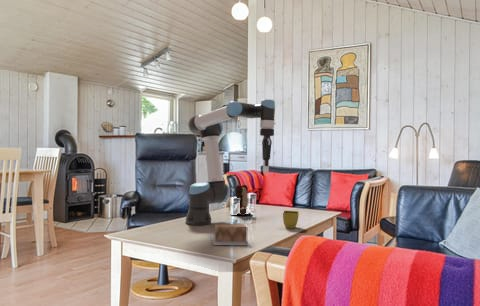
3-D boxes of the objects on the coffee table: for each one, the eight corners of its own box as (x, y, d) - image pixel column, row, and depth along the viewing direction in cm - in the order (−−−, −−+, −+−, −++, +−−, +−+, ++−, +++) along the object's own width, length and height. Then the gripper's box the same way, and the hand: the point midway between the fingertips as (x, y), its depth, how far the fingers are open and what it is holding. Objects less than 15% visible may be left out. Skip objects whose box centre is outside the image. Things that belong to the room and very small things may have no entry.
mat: (213, 246, 174) (213, 244, 174) (210, 236, 191) (210, 235, 191) (246, 245, 176) (246, 244, 176) (240, 236, 194) (240, 235, 194)
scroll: (244, 217, 248) (245, 186, 247) (225, 214, 255) (226, 185, 255) (255, 214, 260) (256, 185, 260) (237, 212, 268) (238, 183, 268)
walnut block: (247, 241, 182) (215, 241, 179) (244, 237, 189) (214, 238, 186) (247, 226, 182) (216, 226, 179) (245, 223, 189) (215, 223, 186)
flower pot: (297, 229, 215) (298, 213, 215) (282, 228, 217) (282, 212, 217) (298, 226, 224) (299, 211, 224) (283, 225, 226) (284, 210, 226)
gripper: (277, 128, 201) (275, 173, 201) (271, 129, 213) (269, 171, 214) (263, 127, 199) (261, 172, 200) (257, 128, 212) (256, 171, 213)
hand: (265, 172), depth 207 cm, fingers closed
